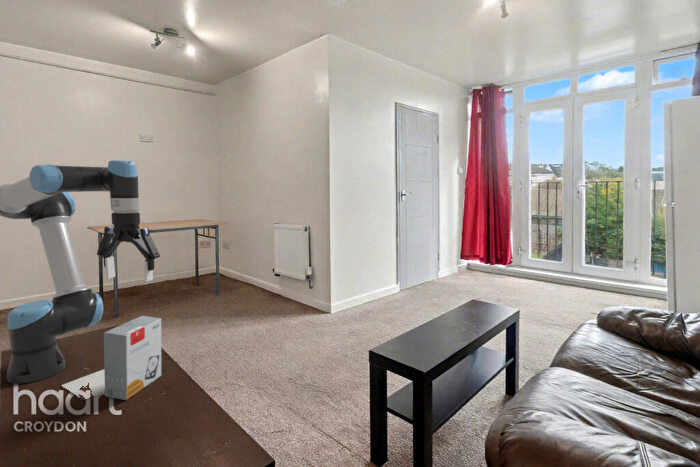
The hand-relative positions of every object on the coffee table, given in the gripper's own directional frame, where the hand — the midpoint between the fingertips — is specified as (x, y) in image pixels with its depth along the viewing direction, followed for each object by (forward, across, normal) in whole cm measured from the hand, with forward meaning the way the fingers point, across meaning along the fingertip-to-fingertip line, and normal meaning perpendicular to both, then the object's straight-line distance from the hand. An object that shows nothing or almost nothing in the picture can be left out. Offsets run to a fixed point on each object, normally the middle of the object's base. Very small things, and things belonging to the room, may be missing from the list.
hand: (129, 279), depth 119 cm
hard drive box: (+33, +4, -5) cm, 33 cm away
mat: (+33, -9, -5) cm, 35 cm away
